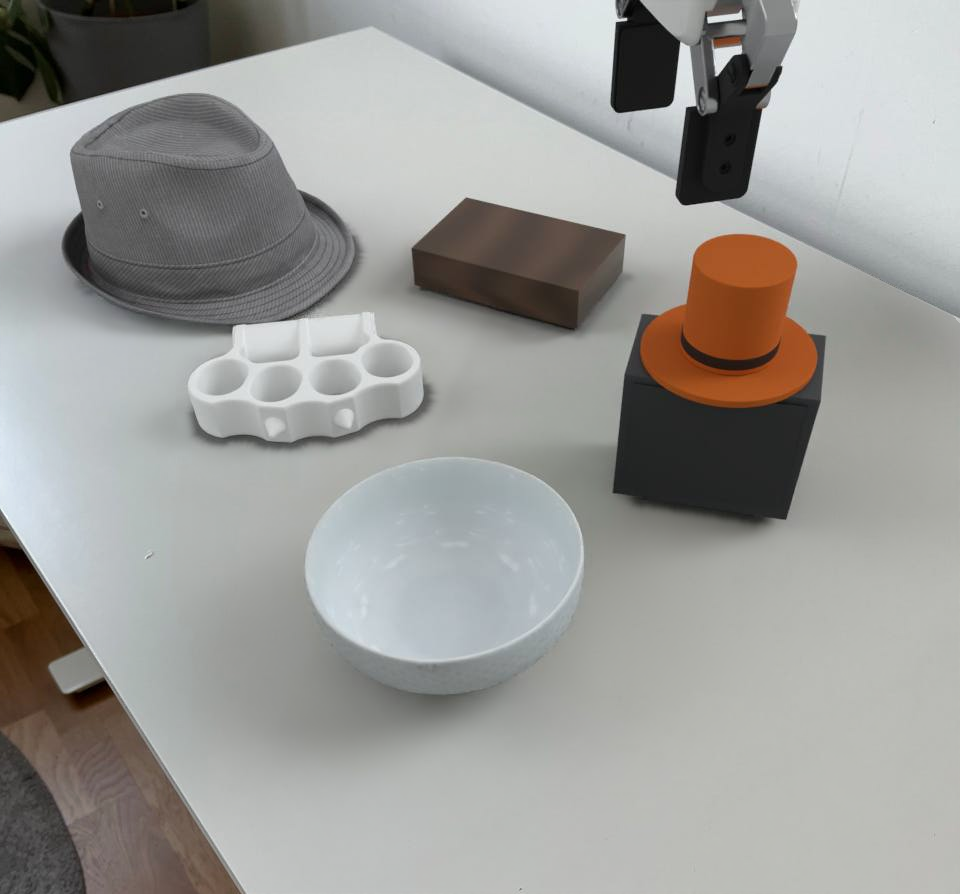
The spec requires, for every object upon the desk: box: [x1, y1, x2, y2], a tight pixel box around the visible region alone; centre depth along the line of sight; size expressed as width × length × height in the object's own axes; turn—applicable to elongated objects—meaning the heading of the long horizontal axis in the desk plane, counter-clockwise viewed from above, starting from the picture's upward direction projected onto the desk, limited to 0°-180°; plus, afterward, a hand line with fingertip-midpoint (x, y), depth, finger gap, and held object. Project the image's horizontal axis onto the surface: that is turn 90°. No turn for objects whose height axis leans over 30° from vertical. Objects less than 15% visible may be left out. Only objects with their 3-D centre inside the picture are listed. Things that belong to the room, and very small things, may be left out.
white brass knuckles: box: [187, 311, 425, 444], centre depth 78 cm, size 3×18×15 cm
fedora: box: [60, 92, 356, 327], centre depth 88 cm, size 24×27×12 cm
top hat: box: [640, 233, 817, 408], centre depth 60 cm, size 11×11×6 cm
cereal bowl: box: [303, 456, 586, 695], centre depth 61 cm, size 17×17×7 cm
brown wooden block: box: [411, 196, 627, 330], centre depth 87 cm, size 16×10×4 cm, turn 62°
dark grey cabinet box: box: [612, 313, 827, 521], centre depth 67 cm, size 7×12×11 cm, turn 75°
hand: (673, 150), depth 47 cm, fingers open, 9 cm apart
